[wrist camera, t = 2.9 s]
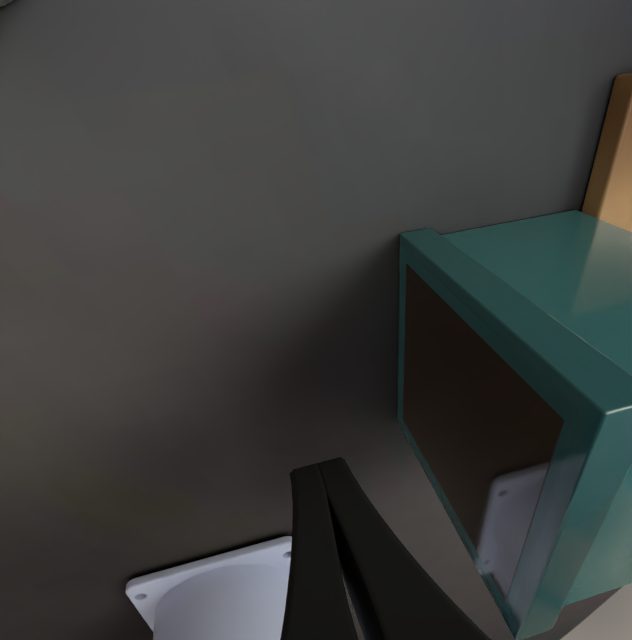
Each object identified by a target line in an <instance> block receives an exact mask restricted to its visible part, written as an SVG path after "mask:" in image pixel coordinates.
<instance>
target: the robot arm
mask: <svg viewBox="0 0 632 640" xmlns="http://www.w3.org/2000/svg"><path fill="white" fill-rule="evenodd" d="M290 478H291V485H292V499H293V528H292V536H283V537H280V538H276V539H273V540H269V541H265V542H262V543H258V544H255V545H251V546H248V547H244V548H240V549H237V550H233V551H230V552H226V553H223V554H219V555H215V556H212V557H208V558H205V559H201V560H198V561H194V562H190V563H187V564H183V565H180V566H176V567H173V568H169V569H165V570H162V571H158V572H155V573H151V574H147V575H144V576H140V577H137V578H134V579H131V580H130V581H129V582H128V583H127V585H126V591H125V592H126V595H127V596H128V597H129V599H130V600H131V602H132V603H133V604H134V606H135V607H136V609H137V610H138V611H139V613H140V614H141V616H142V617H143V618H144V620H145V621H146V623H147V624H148V625H149V627H150V628H151V630H152V631H153V640H358V636H357V633H356V629H355V626H354V622H353V619H352V615H351V612H350V608H349V605H348V601H347V596H346V592H345V588H344V583H343V578H344V581H345V584H346V586H347V589H348V592H349V595H350V598H351V601H352V603H353V606H354V609H355V612H356V615H357V618H358V621H359V623H360V626H361V629H362V632H363V635H364V638H365V640H491V639H490V638H489V637H488V636H487V635H486V634H485V633H483V632H482V631H481V630H480V629H479V628H478V627H477V626H476V625H475V623H474V622H473V621H472V620H471V619H470V618H469V617H468V616H467V615H466V614H465V613H464V612H463V611H462V610H461V609H460V608H459V607H458V606H457V605H456V604H455V603H454V602H453V601H452V600H451V599H450V598H449V597H448V596H447V595H446V594H445V593H444V591H443V590H442V589H441V588H440V587H439V586H438V585H437V584H436V583H435V582H434V580H433V579H432V578H431V577H430V576H429V575H428V574H427V573H426V571H425V570H424V569H423V568H422V567H421V566H420V564H419V563H418V562H417V561H416V560H415V559H414V557H413V556H412V555H411V554H410V553H409V551H408V550H407V549H406V548H405V547H404V545H403V544H402V543H401V542H400V540H399V539H398V538H397V537H396V535H395V534H394V533H393V531H392V530H391V529H390V527H389V526H388V525H387V523H386V522H385V521H384V520H383V518H382V517H381V516H380V514H379V513H378V511H377V510H376V509H375V507H374V506H373V504H372V503H371V502H370V500H369V499H368V497H367V496H366V494H365V493H364V491H363V490H362V488H361V487H360V485H359V484H358V482H357V480H356V479H355V477H354V475H353V474H352V472H351V470H350V468H349V467H348V465H347V463H346V461H345V459H343V458H341V457H339V458H335V459H331V460H328V461H324V462H320V463H316V464H312V465H308V466H304V467H301V468H297V469H293V470H292V472H291V473H290ZM341 572H342V573H341ZM342 575H343V578H342Z"/></svg>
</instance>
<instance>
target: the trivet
mask: <svg viewBox="0 0 632 640" xmlns="http://www.w3.org/2000/svg"><path fill="white" fill-rule="evenodd" d="M582 212H583V213H585V214H588V215H590V216H593V217H595V218H598V219H600V220H603V221H605V222H608V223H610V224H613V225H615V226H618V227H620V228H623V229H625V230H628V231H630V232H632V73H626V74H620V75H618V76H617V77H616V78H615V82H614V86H613V90H612V94H611V98H610V102H609V105H608V109H607V113H606V117H605V121H604V125H603V129H602V133H601V137H600V141H599V145H598V149H597V153H596V157H595V160H594V164H593V168H592V172H591V176H590V180H589V184H588V188H587V192H586V196H585V200H584V204H583V208H582Z"/></svg>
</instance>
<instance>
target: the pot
mask: <svg viewBox="0 0 632 640" xmlns="http://www.w3.org/2000/svg"><path fill="white" fill-rule="evenodd" d="M397 422H398V424H399V426H400V427H401V429H402V431H403V433H404V435H405V437H406V438H407V440H408V442H409V444H410V446H411V448H412V450H413V451H414V453H415V455H416V457H417V459H418V461H419V462H420V464H421V466H422V468H423V470H424V472H425V474H426V475H427V477H428V479H429V481H430V483H431V485H432V486H433V488H434V490H435V492H436V494H437V496H438V497H439V499H440V501H441V503H442V505H443V507H444V509H445V510H446V512H447V514H448V516H449V518H450V520H451V521H452V523H453V525H454V527H455V529H456V531H457V533H458V534H459V536H460V538H461V540H462V542H463V544H464V545H465V547H466V549H467V551H468V553H469V555H470V557H471V558H472V560H473V562H474V564H475V566H476V568H477V569H478V571H479V573H480V575H481V577H482V579H483V581H484V582H485V584H486V586H487V588H488V590H489V592H490V593H491V595H492V597H493V599H494V601H495V603H496V605H497V606H498V608H499V610H500V612H501V614H502V616H503V617H504V619H505V621H506V623H507V625H508V627H509V629H510V630H511V632H512V634H513V636H514V638H515V639H516V640H522V639H525V638H528V637H531V636H534V635H536V634H539V633H542V632H545V631H548V630H551V629H552V628H553V625H554V623H555V621H556V619H557V617H558V615H559V613H560V611H561V609H562V607H563V606H564V605H567V604H570V603H573V602H576V601H579V600H582V599H585V598H588V597H591V596H594V595H597V594H600V593H603V592H606V591H609V590H612V589H615V588H618V587H621V586H624V585H627V584H630V583H632V232H630V231H628V230H625V229H623V228H620V227H618V226H615V225H613V224H610V223H608V222H605V221H603V220H600V219H598V218H595V217H593V216H590V215H588V214H585V213H583V212H580V211H578V210H571V211H566V212H561V213H555V214H550V215H545V216H539V217H534V218H529V219H523V220H518V221H513V222H507V223H502V224H497V225H491V226H486V227H481V228H475V229H470V230H465V231H459V232H454V233H449V234H443V235H440V234H439V233H437V232H436V231H435V230H433V229H432V228H427V229H421V230H416V231H410V232H405V233H400V254H399V329H398V404H397Z"/></svg>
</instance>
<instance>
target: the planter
mask: <svg viewBox="0 0 632 640" xmlns="http://www.w3.org/2000/svg"><path fill="white" fill-rule="evenodd" d="M12 1H13V0H0V7H2V6H5V5H6V4H8V3H10V2H12Z"/></svg>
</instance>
